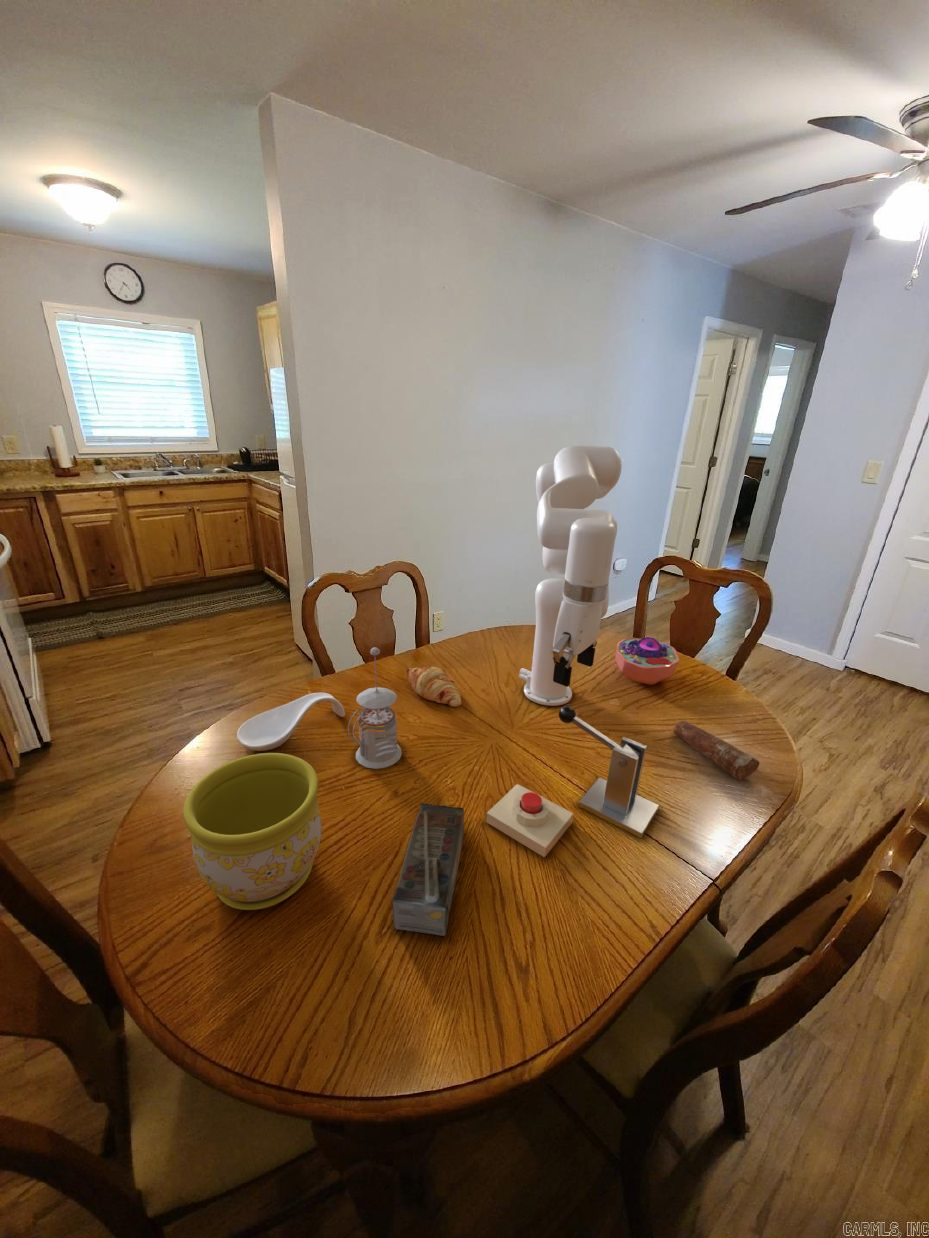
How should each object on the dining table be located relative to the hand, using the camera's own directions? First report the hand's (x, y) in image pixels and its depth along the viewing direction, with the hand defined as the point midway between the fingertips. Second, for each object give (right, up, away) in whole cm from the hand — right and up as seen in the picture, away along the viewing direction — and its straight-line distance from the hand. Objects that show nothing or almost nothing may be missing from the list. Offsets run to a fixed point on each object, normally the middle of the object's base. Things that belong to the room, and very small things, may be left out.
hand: (573, 673), depth 95 cm
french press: (-40, -19, +11) cm, 45 cm away
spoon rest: (-59, -15, +17) cm, 64 cm away
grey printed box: (-26, -30, -17) cm, 43 cm away
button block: (-9, -26, -5) cm, 28 cm away
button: (-9, -23, -7) cm, 26 cm away
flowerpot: (-52, -30, -17) cm, 62 cm away
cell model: (+30, -6, +47) cm, 56 cm away
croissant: (-29, -9, +35) cm, 46 cm away
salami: (+33, -20, +14) cm, 41 cm away
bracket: (+8, -25, -1) cm, 27 cm away
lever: (+3, -12, -2) cm, 13 cm away
